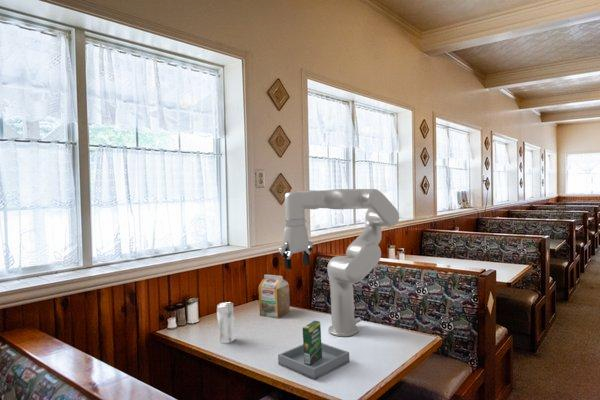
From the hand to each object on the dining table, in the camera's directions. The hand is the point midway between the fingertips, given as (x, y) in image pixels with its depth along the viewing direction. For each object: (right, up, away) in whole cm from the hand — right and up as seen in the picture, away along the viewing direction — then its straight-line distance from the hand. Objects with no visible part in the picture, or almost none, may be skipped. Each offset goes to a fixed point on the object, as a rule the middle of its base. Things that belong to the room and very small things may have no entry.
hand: (297, 266), depth 162 cm
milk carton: (-11, -30, +39) cm, 50 cm away
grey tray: (+6, -31, -18) cm, 36 cm away
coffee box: (+6, -30, -18) cm, 36 cm away
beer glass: (-29, -32, +7) cm, 43 cm away
